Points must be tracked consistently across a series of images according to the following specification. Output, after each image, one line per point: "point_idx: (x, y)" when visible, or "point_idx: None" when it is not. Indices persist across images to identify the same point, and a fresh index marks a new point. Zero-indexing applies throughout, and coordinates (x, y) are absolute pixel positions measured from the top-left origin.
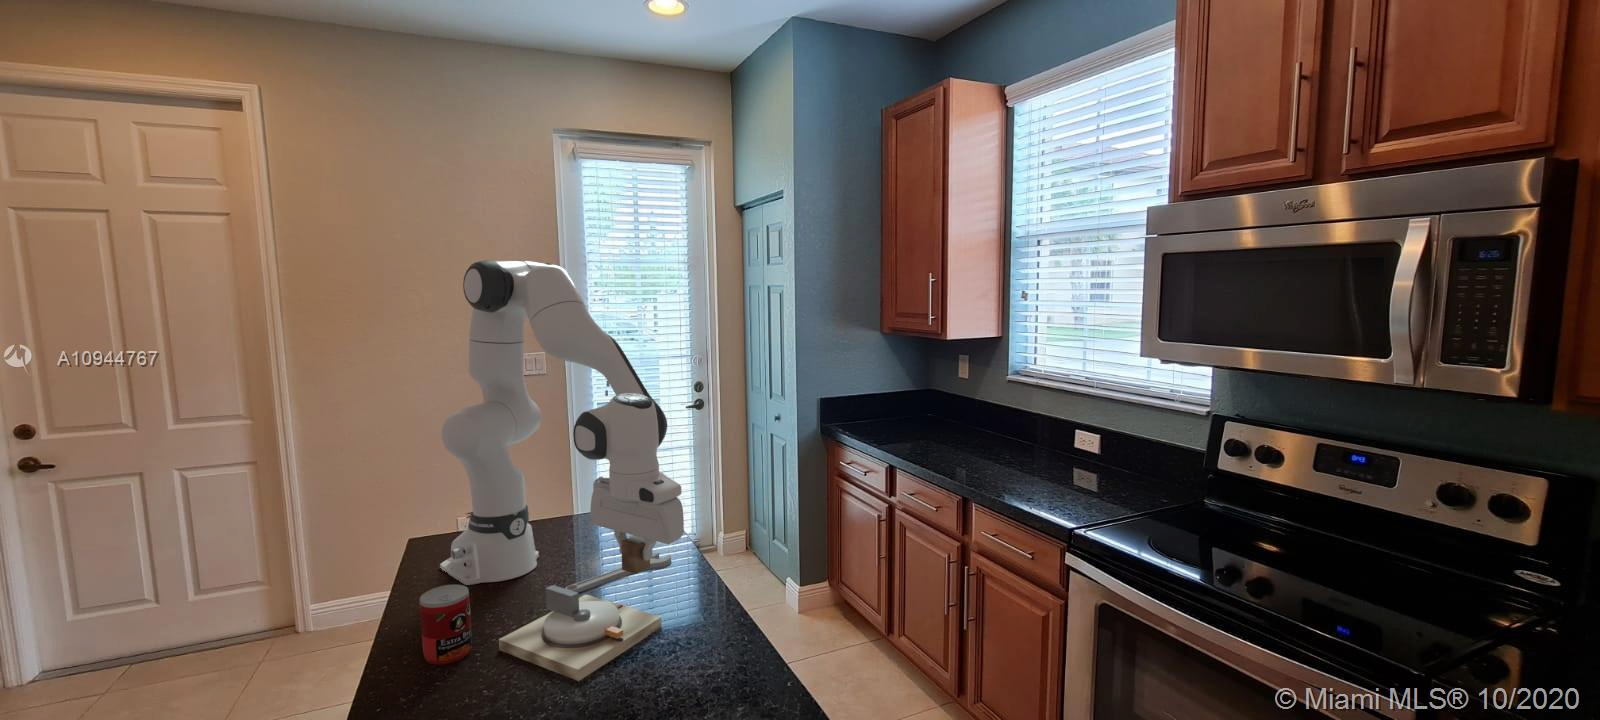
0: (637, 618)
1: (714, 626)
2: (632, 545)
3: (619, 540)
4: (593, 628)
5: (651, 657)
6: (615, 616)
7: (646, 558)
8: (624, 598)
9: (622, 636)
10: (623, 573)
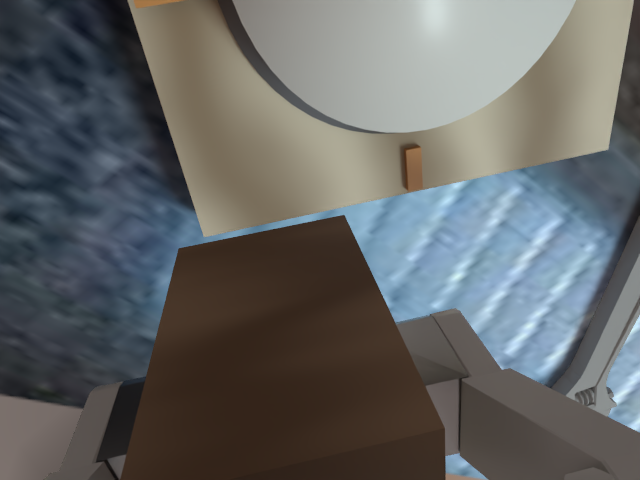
0: (268, 168)
1: (72, 334)
2: (196, 462)
3: (526, 417)
4: None
5: (2, 47)
6: (281, 65)
7: (92, 407)
8: (485, 247)
9: (170, 20)
10: (598, 326)
